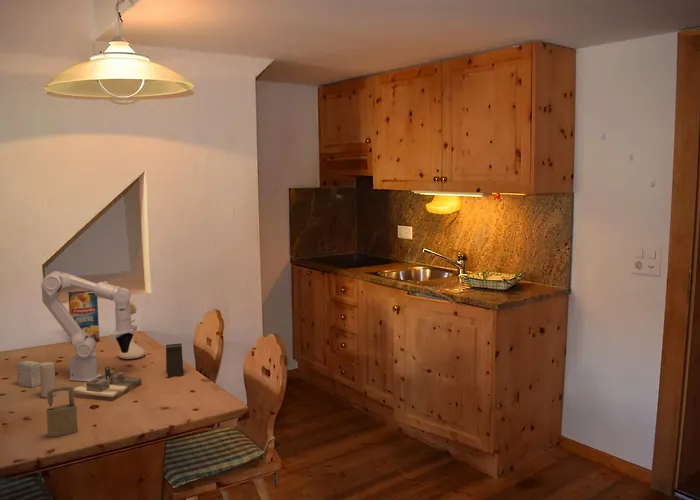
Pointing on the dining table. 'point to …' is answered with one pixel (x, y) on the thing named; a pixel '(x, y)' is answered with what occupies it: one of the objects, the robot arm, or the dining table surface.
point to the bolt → (106, 376)
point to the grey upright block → (28, 374)
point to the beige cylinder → (47, 378)
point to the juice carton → (85, 311)
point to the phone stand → (174, 360)
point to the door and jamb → (107, 387)
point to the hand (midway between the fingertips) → (124, 352)
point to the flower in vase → (132, 344)
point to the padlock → (61, 414)
